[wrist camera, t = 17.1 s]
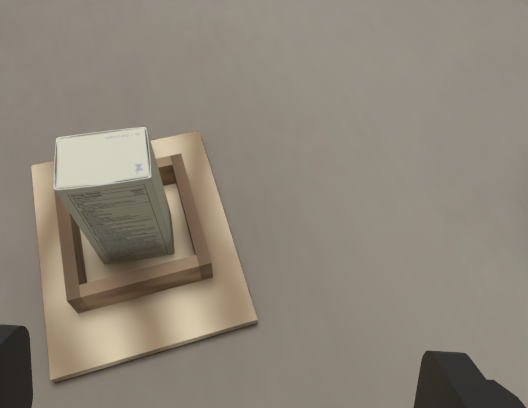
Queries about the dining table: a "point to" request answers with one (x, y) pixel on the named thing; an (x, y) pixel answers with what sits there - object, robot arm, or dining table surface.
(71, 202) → the skincare box
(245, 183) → the dining table surface
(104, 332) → the carrier plate
